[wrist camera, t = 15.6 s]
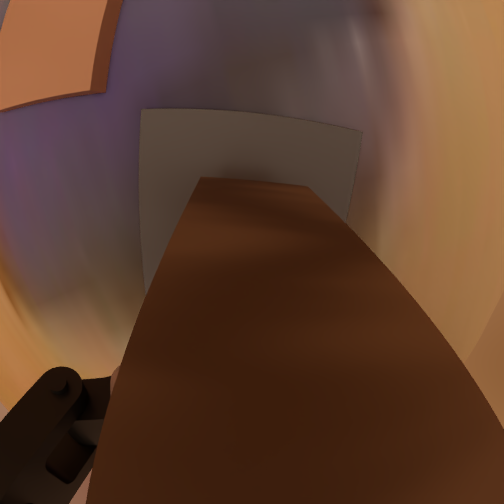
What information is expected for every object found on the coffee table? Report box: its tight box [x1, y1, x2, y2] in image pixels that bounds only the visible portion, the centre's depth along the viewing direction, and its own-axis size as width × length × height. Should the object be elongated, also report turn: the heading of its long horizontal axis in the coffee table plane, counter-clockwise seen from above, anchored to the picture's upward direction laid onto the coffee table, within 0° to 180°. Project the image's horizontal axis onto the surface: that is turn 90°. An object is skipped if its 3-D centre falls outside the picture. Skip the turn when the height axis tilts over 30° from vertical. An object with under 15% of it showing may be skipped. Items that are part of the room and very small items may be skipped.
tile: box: [0, 0, 123, 113], centre depth 9 cm, size 9×2×10 cm
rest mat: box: [139, 109, 363, 295], centre depth 16 cm, size 12×14×1 cm
